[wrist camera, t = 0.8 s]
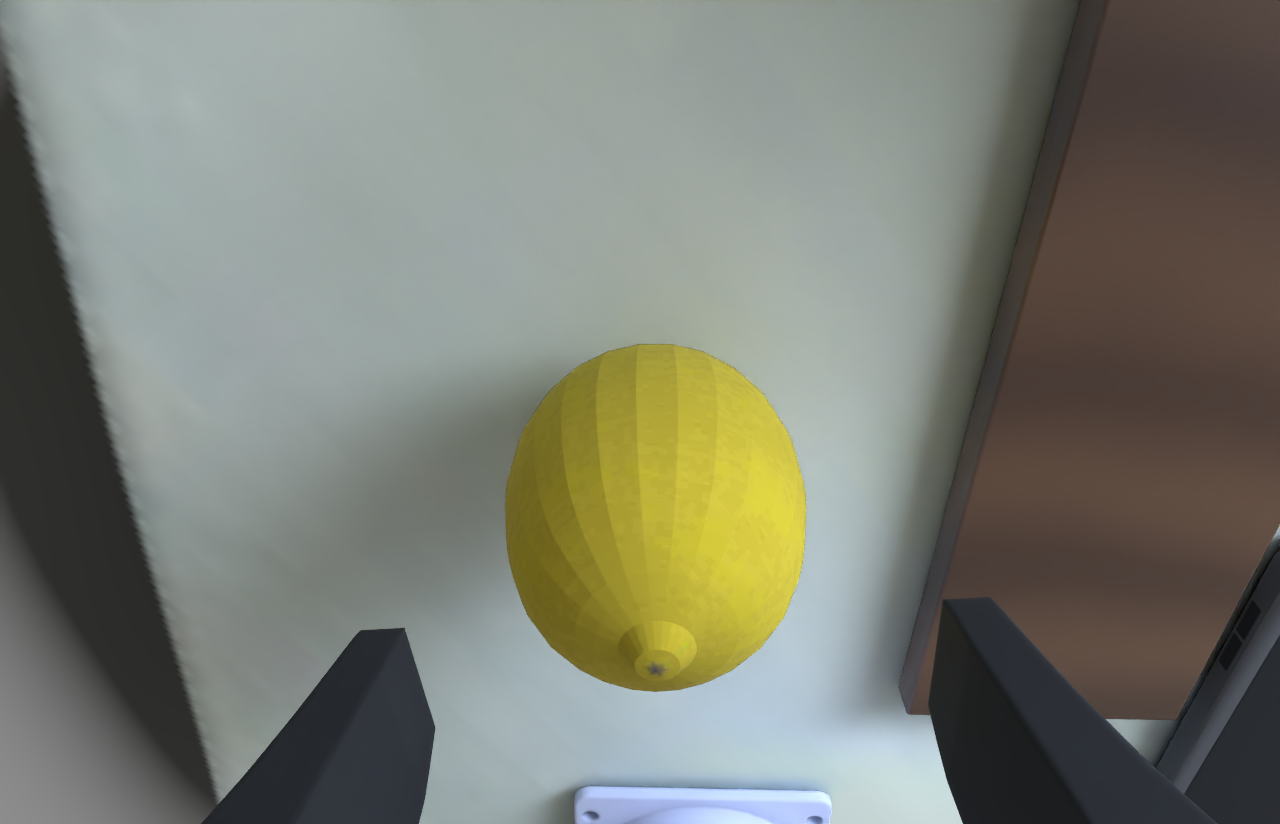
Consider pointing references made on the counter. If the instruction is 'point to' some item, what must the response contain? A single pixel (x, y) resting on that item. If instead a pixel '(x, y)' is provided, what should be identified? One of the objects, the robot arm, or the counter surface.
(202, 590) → the counter surface
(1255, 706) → the cell phone
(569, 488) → the lemon
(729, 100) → the counter surface
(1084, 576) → the back board
